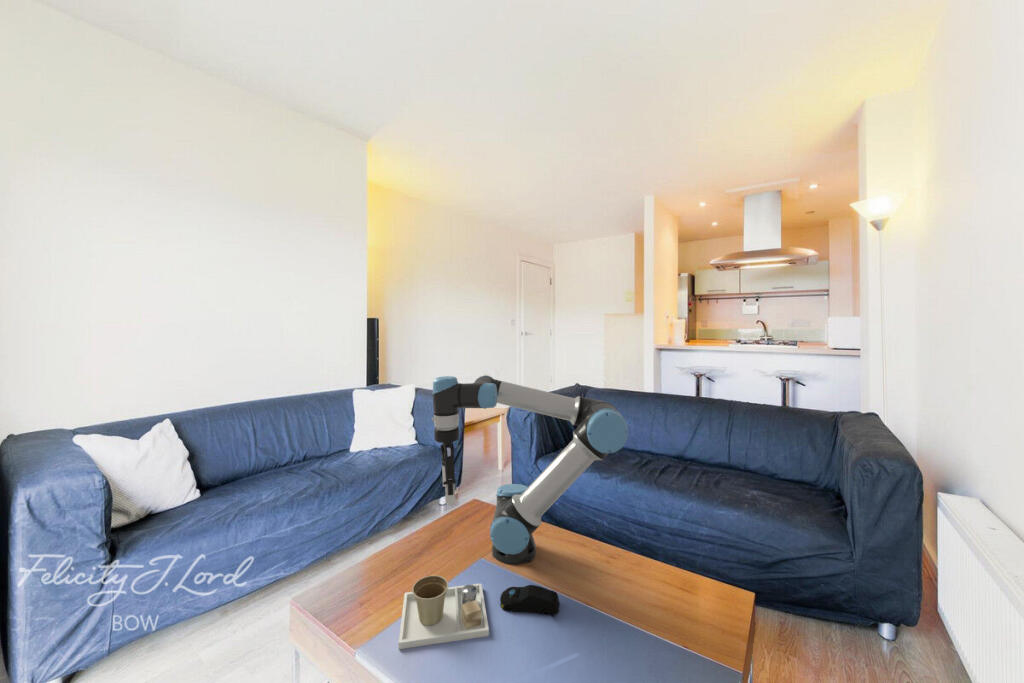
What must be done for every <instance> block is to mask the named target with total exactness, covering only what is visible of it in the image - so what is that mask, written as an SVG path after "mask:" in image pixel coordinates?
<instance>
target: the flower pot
mask: <svg viewBox="0 0 1024 683" xmlns="http://www.w3.org/2000/svg"><path fill="white" fill-rule="evenodd" d="M448 587H449V582H448V580H447V579H446V577H443V576H441V575H437V574H436V575H434V574H433V575H426V576H423V577H421V578H420V579H418V580H417V581H416V582H415V583H414V584H413V586H412V589H411V592H412V593H413V595H414V597H415V599H416V603H417V609H418V614H419V620H420V622H421V623H422V624H424V625H427V626H428V625H431V624H432V625H434V624H437V623H438V622H439V621H440V620H441V619H442V617H443V609H444V600H445V595H446V591H447V589H448Z"/></svg>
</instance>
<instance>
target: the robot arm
mask: <svg viewBox="0 0 1024 683" xmlns="http://www.w3.org/2000/svg"><path fill="white" fill-rule="evenodd" d="M431 394H432V407H433V417H431V421H433V426H434V429H433V433H434V436H433V437H434V438H433V439H434V441H435V442H437V443H439V444H440V445H439V446H440V454H441V470H442V475H441V476H442V488H443V487H445V505H446V506H447V507H448V506H453V505H456V477H455V474H456V472H455V463H454V462H455V461H454V460H455V454H454V453H455V446H454V443H453V442H457V441H458V440H459V439H460V428H459V426H460V418H459V416H460V415H459V409H483V410H484V409H490V408H491V409H493V408H496V407H497V404H499V405H503V406H508V407H512V408H516V409H520V410H524V411H527V412H532V413H536V414H540V415H545V416H549V417H553V418H556V419H561V420H565V421H568V422H570V423H571V425H572V426H577V427H575V429H574V430H573V431H572V435H573V437H572V440H571V441H570V442H569V443H568V445H566V447H564V448H563V450H561V452H559V454H558V455H557V456H556V457H555V458H554V459H553V460H552V461H551V462H550V463H549V464H548V465H547V467H546V468H544V470H543V471H542V472H541V473H540V474H539V475H538V476H537V477H536V479H534V480H533V482H531V483H530V484H529V486H526V485H524V484H519V483H508V484H503V485H500V486H499V487H497V489H496V494H495V496H496V506H495V510H494V514H493V518H492V521H491V523H490V527H489V532H490V533H489V536H490V541H491V543H492V545H491V556H492V557H493V558H494V559H495V560H497V561H498V562H500V563H503V564H505V565H515V566H516V565H521V564H526V563H527V564H528V563H530V562H532V561H533V560H534V559H535V557H536V555H537V545H536V541H535V539H534V536H533V534H534V533H535V531H536V530H538V528H539V527H540V526H541V524H542V516H543V515H544V514H545V513H546V512H547V511H548V510H549V509H550V508H551V507H552V506H553V505H554V504H555V502H557V500H558V499H560V497H561V496H562V495H563V494H564V493H565V492H566V491H567V490H568V489H569V488H570V487H571V486H572V485H573V483H575V481H577V479H578V478H580V477H581V475H582V474H583V473H584V472H586V470H587V469H588V468H589V466H591V465H592V463H594V462H595V461H603V460H604V459H605V458H606V457H607V456H608V455H609V454H613V453H616V452H618V451H620V450H621V449H622V448H624V446H625V444H626V443H627V440H628V437H629V428H628V424H627V421H626V420H625V418H624V416H623V415H622V414H621V413H620V412H619V411H618V409H617V408H616V407H615V406H614V405H613V404H611V403H610V402H607V401H604V400H600V399H596V398H595V399H594V398H590V397H589V398H588V397H584V396H579V395H577V396H576V397H572V396H571V397H570V396H566V395H561V394H557V393H553V392H550V391H545V390H541V389H537V388H533V387H529V386H523V385H520V384H516V383H512V382H507V381H502V380H498V379H495V378H494V377H492V376H490V375H482V376H479V377H478V378H477V379H475V380H474V382H471V383H470V382H469V383H468V382H467V383H464V382H463V383H461V382H460V383H459V382H458V378H457V377H456V376H451V375H450V376H449V375H448V376H445V375H443V376H438V377H435V378H434V379H433V381H432V393H431Z"/></svg>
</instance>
